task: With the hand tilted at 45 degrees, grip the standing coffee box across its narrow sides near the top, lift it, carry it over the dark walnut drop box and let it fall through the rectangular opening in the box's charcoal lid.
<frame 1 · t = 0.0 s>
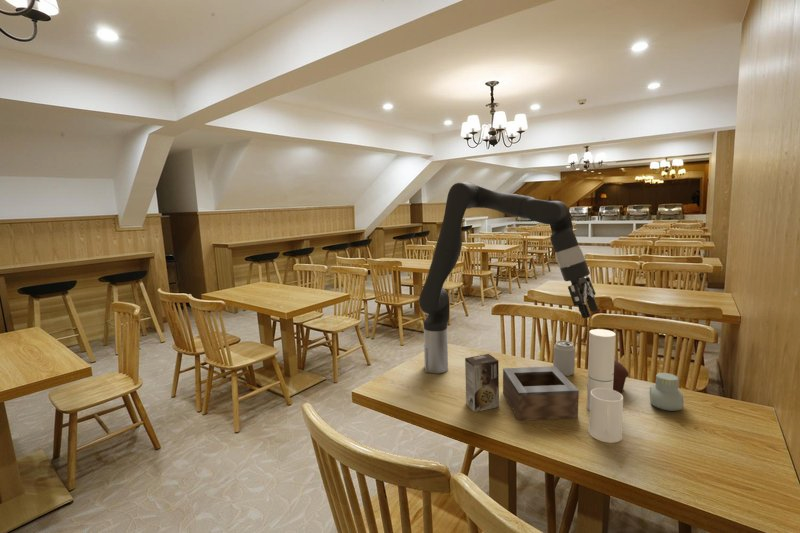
hand: (590, 314, 119), 31 cm above the table, tool tilted 20°, fingers open, 8 cm apart
cylindrical container: (599, 409, 126), on the table
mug: (604, 437, 111), on the table
can: (563, 373, 153), on the table
air freshener: (665, 406, 126), on the table
coffee box: (482, 405, 131), on the table
muffin: (608, 389, 139), on the table
drop box: (537, 404, 130), on the table
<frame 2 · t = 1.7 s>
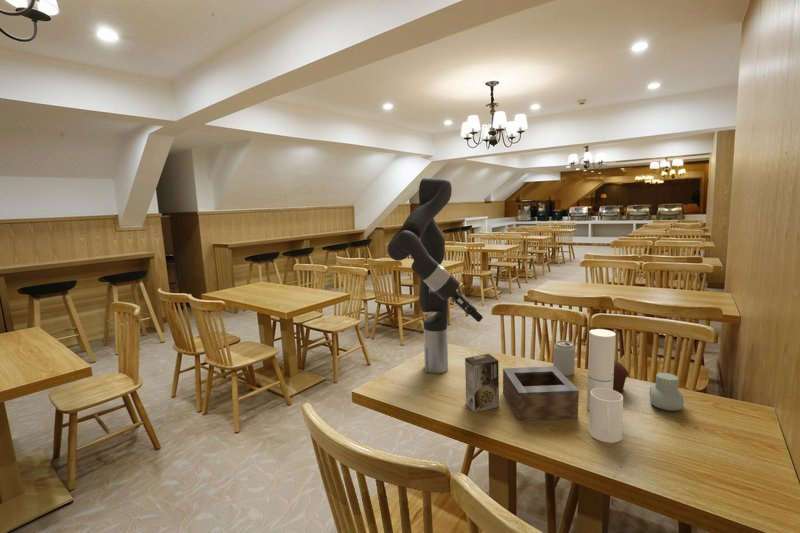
hand: (477, 315, 126), 30 cm above the table, tool tilted 45°, fingers open, 8 cm apart
nothing on the table moved.
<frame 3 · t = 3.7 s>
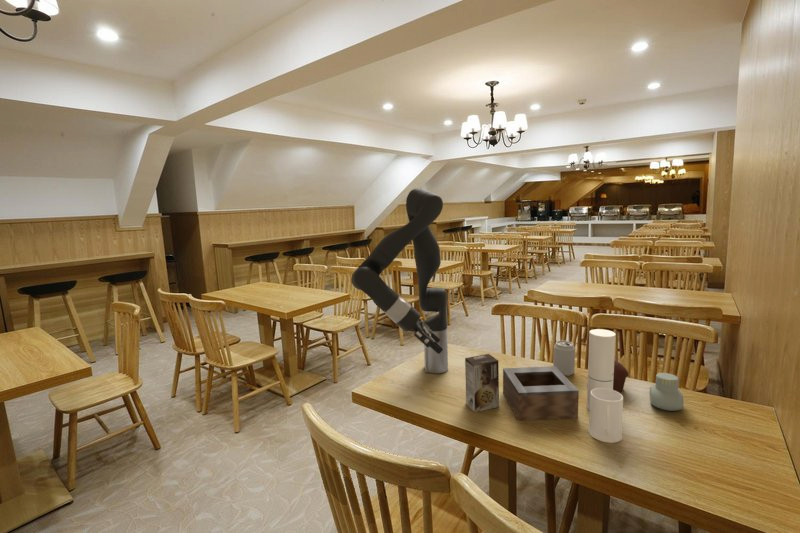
hand: (439, 346, 127), 21 cm above the table, tool tilted 45°, fingers open, 8 cm apart
nothing on the table moved.
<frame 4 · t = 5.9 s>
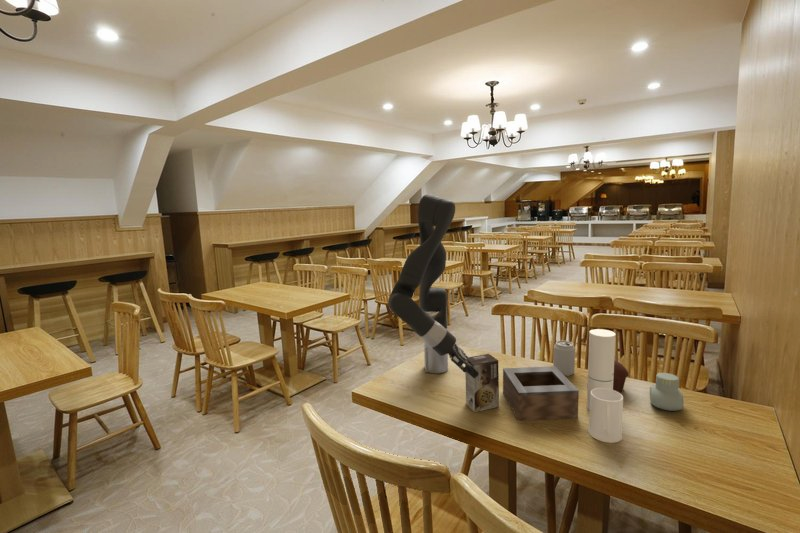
hand: (474, 370, 128), 12 cm above the table, tool tilted 45°, fingers open, 8 cm apart
coffee box: (482, 405, 131), on the table, touching gripper
everything else where it was.
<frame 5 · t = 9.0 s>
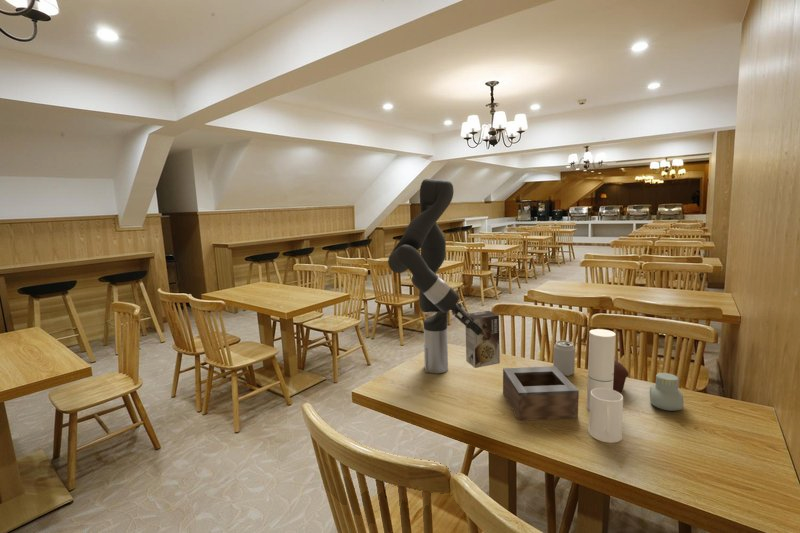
hand: (477, 328, 127), 26 cm above the table, tool tilted 45°, fingers closed on coffee box, 7 cm apart
coffee box: (482, 363, 129), point 14 cm above the table, touching gripper
everything else where it was.
when the fingers open (22 cm above the table, at t = 11.5 s): coffee box drops 9 cm, resting on drop box.
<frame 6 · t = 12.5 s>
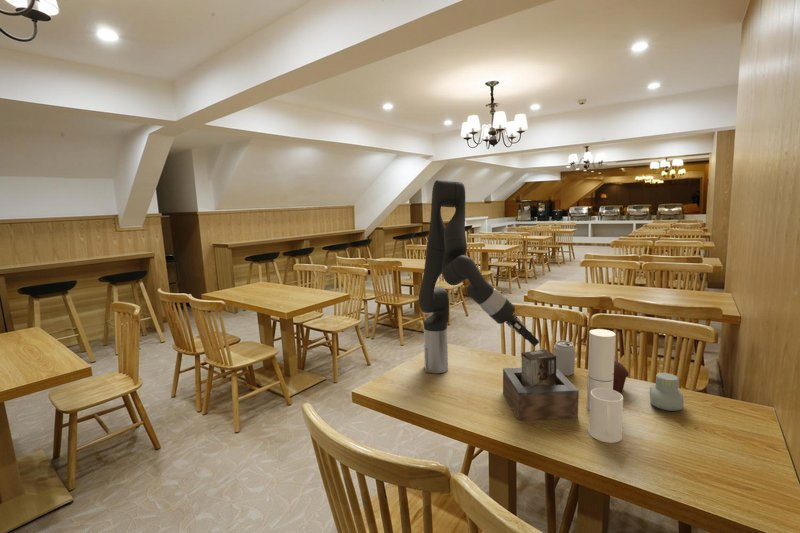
hand: (532, 339, 126), 22 cm above the table, tool tilted 45°, fingers open, 8 cm apart
coffee box: (538, 401, 130), point 1 cm above the table, touching drop box
everything else where it was.
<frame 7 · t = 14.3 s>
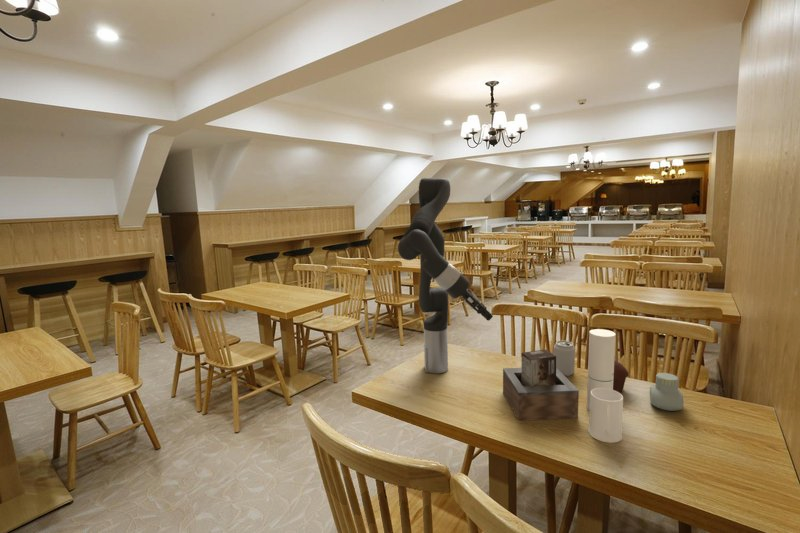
hand: (487, 314, 127), 30 cm above the table, tool tilted 45°, fingers open, 8 cm apart
nothing on the table moved.
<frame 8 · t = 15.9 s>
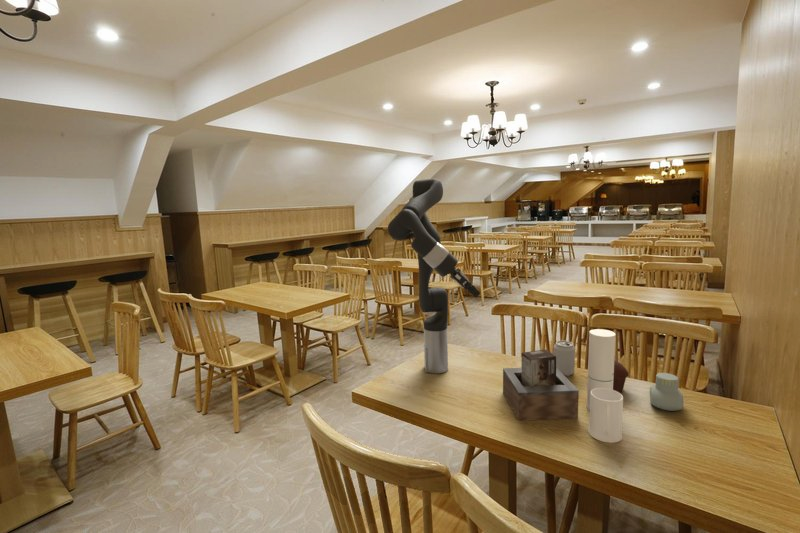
hand: (475, 292, 131), 37 cm above the table, tool tilted 45°, fingers open, 8 cm apart
nothing on the table moved.
at the end: coffee box inside the target area on the drop box (0.7 cm from its centre), point 0.8 cm above the drop box's base; the gripper is holding nothing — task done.
